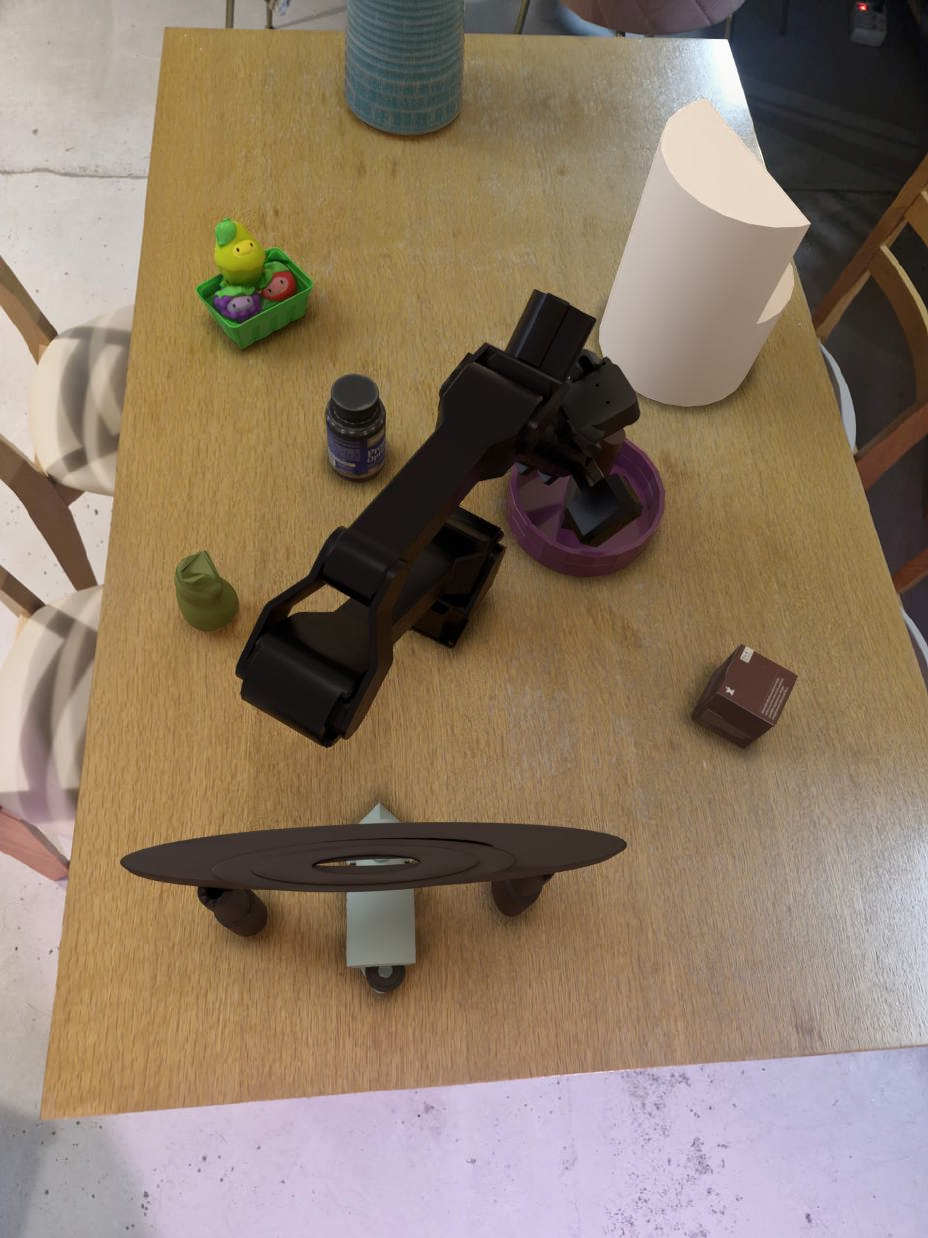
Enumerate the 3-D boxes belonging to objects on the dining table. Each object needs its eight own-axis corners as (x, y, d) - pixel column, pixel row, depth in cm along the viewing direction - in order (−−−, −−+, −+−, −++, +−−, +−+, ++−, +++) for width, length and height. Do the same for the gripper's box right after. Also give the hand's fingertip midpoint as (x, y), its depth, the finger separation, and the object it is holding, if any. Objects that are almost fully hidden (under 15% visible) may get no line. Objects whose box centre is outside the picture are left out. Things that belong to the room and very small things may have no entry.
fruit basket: (239, 362, 96) (222, 284, 86) (194, 314, 99) (173, 233, 89) (320, 317, 100) (313, 238, 90) (275, 273, 103) (264, 191, 93)
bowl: (620, 602, 88) (632, 582, 84) (480, 536, 90) (484, 513, 85) (673, 488, 95) (686, 464, 90) (541, 428, 96) (548, 402, 92)
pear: (176, 603, 83) (152, 553, 74) (227, 581, 85) (210, 529, 76) (199, 650, 81) (177, 603, 72) (251, 626, 83) (236, 578, 74)
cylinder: (635, 420, 98) (713, 241, 76) (575, 302, 105) (629, 107, 83) (775, 389, 102) (888, 210, 80) (708, 277, 109) (794, 85, 87)
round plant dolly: (128, 736, 56) (617, 726, 59) (191, 808, 75) (559, 798, 78) (96, 997, 49) (650, 969, 53) (174, 1004, 68) (577, 983, 72)
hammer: (597, 535, 90) (629, 462, 79) (560, 527, 90) (587, 453, 79) (603, 489, 93) (636, 412, 81) (567, 482, 93) (595, 404, 81)
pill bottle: (377, 488, 91) (377, 423, 81) (322, 476, 91) (315, 409, 81) (391, 443, 94) (392, 374, 84) (337, 431, 94) (332, 361, 84)
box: (743, 752, 82) (775, 728, 75) (687, 718, 83) (714, 692, 76) (767, 702, 84) (800, 675, 78) (713, 670, 85) (741, 641, 79)
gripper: (655, 454, 66) (721, 493, 79) (549, 286, 73) (626, 347, 86) (547, 537, 71) (625, 561, 84) (458, 373, 78) (543, 418, 91)
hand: (606, 468), depth 86 cm, fingers open, 9 cm apart
